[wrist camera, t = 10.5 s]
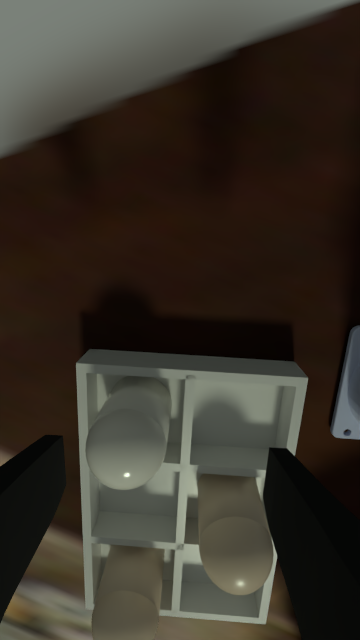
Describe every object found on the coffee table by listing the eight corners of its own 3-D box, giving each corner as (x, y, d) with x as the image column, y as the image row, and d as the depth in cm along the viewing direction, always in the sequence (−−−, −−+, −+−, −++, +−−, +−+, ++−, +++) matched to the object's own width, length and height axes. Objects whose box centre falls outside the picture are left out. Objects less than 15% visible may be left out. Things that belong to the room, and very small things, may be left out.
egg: (173, 376, 20) (164, 437, 14) (170, 432, 21) (161, 514, 15) (108, 372, 20) (70, 430, 14) (109, 428, 22) (74, 507, 15)
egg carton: (294, 361, 20) (345, 422, 13) (258, 587, 25) (282, 714, 19) (89, 348, 20) (39, 401, 14) (95, 574, 26) (61, 693, 19)
